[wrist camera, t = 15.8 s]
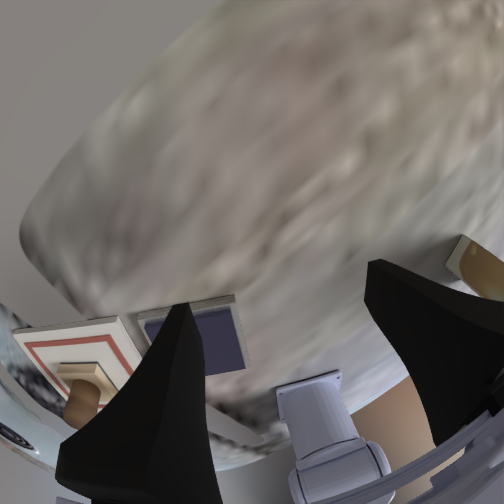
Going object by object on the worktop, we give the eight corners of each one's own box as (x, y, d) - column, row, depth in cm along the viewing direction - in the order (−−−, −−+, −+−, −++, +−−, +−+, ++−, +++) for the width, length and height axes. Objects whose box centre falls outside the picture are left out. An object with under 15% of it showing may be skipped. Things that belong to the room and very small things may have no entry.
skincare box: (478, 251, 25) (544, 305, 14) (461, 280, 27) (523, 339, 16) (461, 231, 23) (542, 291, 12) (442, 264, 24) (516, 332, 14)
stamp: (119, 390, 24) (112, 437, 19) (83, 390, 23) (73, 433, 18) (97, 361, 22) (84, 412, 16) (60, 362, 21) (44, 408, 16)
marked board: (172, 403, 27) (172, 410, 26) (78, 406, 26) (76, 412, 25) (118, 315, 21) (115, 323, 20) (15, 329, 19) (11, 335, 19)
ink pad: (249, 358, 25) (251, 370, 24) (170, 372, 24) (169, 383, 23) (234, 294, 21) (236, 306, 20) (138, 312, 21) (136, 324, 19)
